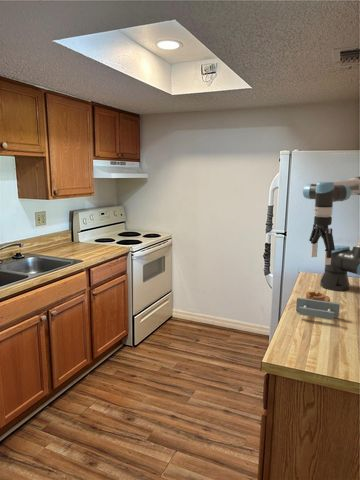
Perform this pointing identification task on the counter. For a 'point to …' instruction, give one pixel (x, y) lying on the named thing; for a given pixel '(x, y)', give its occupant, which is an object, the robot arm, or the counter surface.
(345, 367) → the counter surface
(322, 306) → the plate
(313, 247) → the robot arm
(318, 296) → the bracket
